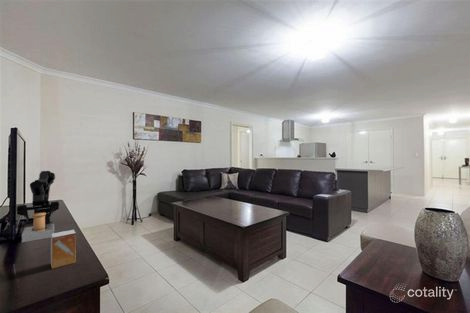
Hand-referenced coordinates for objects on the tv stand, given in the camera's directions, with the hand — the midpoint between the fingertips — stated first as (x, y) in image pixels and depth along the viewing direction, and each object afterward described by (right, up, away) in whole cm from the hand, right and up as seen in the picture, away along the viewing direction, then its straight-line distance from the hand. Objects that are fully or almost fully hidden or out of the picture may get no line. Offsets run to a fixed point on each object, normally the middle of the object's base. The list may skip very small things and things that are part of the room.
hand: (39, 219), depth 127 cm
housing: (+1, -9, -1) cm, 9 cm away
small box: (+41, -9, -34) cm, 54 cm away
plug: (+1, -9, -1) cm, 10 cm away
